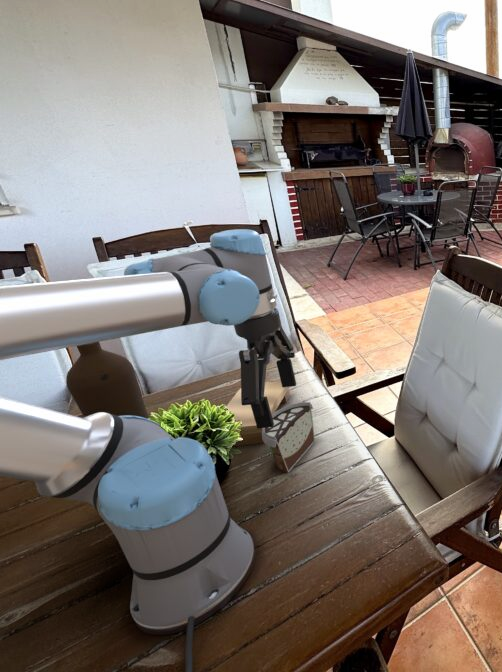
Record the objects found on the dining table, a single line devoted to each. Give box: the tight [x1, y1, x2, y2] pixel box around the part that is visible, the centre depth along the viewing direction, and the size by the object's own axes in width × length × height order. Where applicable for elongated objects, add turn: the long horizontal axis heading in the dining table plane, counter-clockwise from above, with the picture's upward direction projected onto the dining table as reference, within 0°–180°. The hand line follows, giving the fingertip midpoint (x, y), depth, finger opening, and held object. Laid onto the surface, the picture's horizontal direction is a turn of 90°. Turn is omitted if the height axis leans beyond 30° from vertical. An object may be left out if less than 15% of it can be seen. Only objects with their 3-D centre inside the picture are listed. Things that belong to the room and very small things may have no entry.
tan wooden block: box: [225, 380, 291, 447], centre depth 97 cm, size 18×11×5 cm, turn 10°
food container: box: [262, 401, 316, 474], centre depth 86 cm, size 12×6×10 cm, turn 172°
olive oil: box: [65, 342, 150, 419], centre depth 90 cm, size 11×11×25 cm
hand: (278, 404), depth 83 cm, fingers open, 13 cm apart
